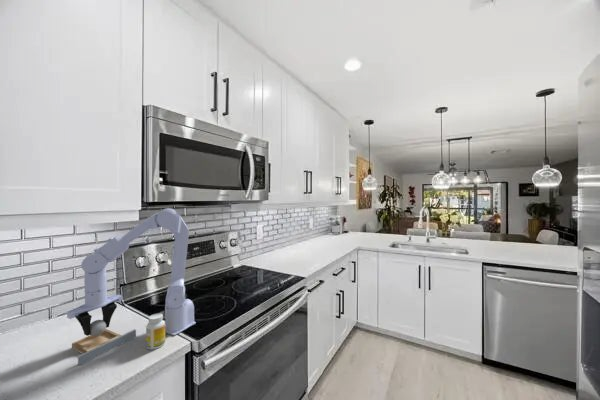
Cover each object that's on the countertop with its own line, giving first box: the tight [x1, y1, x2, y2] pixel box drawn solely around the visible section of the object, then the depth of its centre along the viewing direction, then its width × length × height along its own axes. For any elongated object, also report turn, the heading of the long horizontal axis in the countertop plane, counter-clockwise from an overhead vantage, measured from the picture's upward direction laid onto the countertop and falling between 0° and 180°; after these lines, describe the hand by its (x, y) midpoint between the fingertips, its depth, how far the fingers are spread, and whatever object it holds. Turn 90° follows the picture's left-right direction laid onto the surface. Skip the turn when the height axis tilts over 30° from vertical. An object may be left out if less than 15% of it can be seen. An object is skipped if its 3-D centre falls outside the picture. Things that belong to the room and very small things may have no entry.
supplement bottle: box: [145, 312, 166, 350], centre depth 82 cm, size 5×5×10 cm
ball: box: [89, 319, 107, 336], centre depth 83 cm, size 5×5×5 cm
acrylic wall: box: [77, 328, 137, 366], centre depth 80 cm, size 16×1×2 cm, turn 154°
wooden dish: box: [71, 328, 122, 354], centre depth 83 cm, size 10×10×2 cm
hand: (96, 330), depth 83 cm, fingers closed on ball, 5 cm apart
